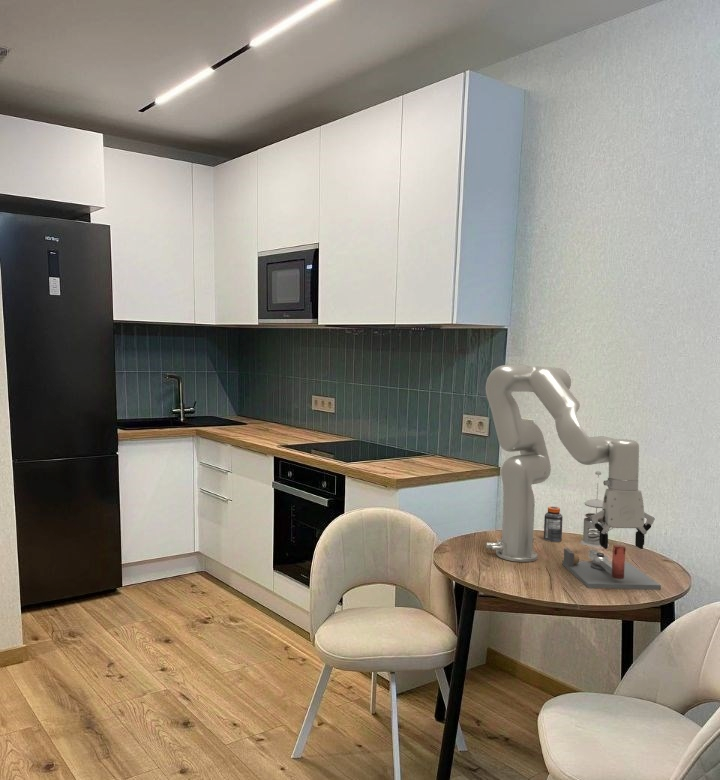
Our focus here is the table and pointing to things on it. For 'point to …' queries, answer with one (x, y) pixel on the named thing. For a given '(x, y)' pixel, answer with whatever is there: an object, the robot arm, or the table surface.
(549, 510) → the pill bottle
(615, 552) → the lever
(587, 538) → the french press
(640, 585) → the base
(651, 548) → the table surface
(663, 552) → the table surface
